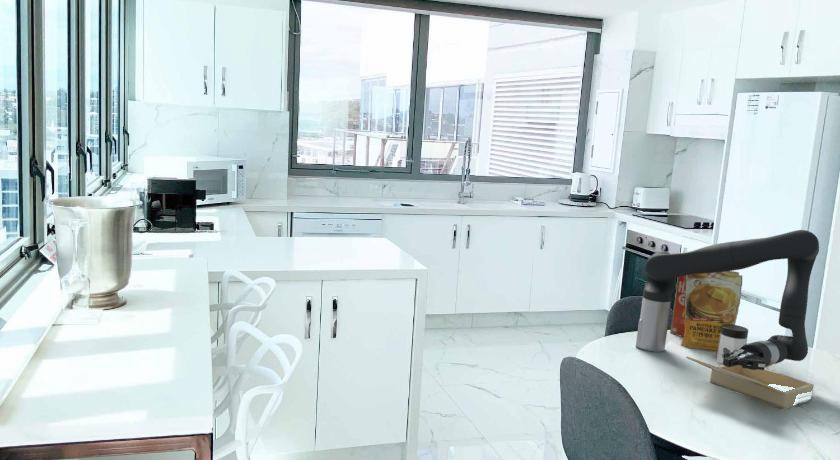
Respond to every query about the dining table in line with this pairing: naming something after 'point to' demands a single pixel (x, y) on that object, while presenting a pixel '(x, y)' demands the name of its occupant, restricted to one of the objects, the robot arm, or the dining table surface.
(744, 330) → the jar
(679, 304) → the food packaging
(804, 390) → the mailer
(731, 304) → the pancake mix bag
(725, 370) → the lid
